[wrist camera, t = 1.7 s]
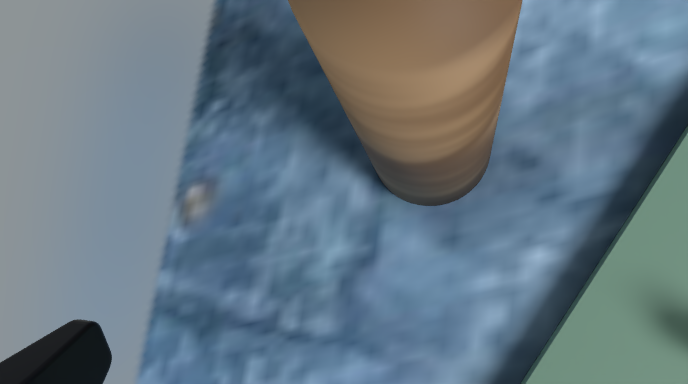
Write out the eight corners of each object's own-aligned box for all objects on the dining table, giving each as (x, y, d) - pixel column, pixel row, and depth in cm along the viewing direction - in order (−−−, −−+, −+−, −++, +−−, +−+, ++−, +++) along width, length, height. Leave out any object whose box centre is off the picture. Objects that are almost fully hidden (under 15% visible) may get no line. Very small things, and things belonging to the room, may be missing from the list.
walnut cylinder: (447, 228, 23) (437, 113, 10) (350, 166, 24) (238, -2, 12) (513, 130, 23) (582, -95, 11) (414, 75, 24) (372, -182, 12)
